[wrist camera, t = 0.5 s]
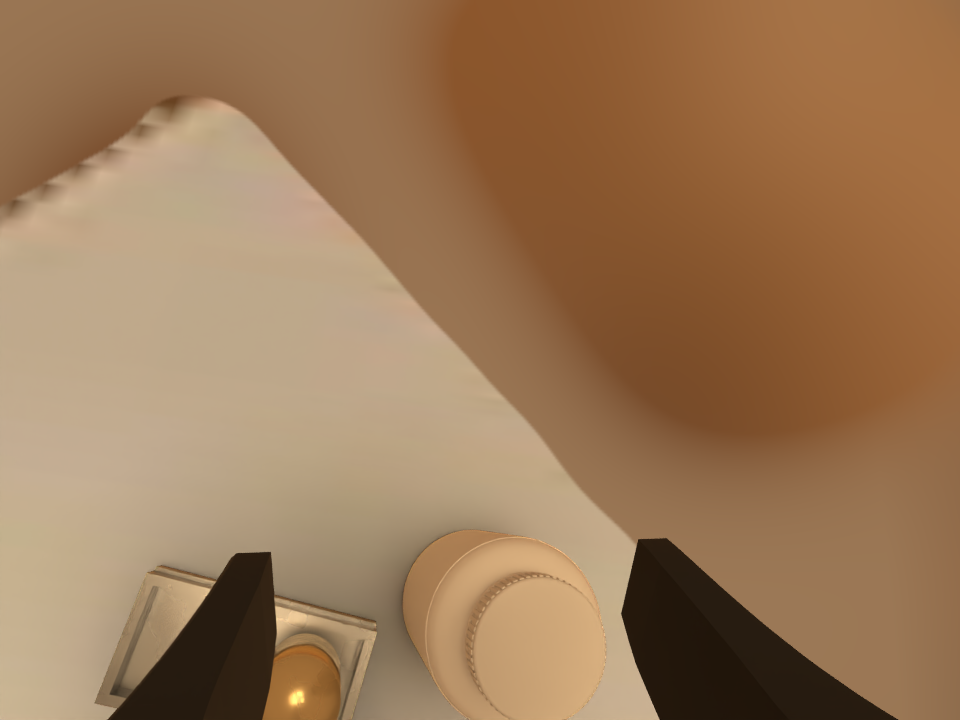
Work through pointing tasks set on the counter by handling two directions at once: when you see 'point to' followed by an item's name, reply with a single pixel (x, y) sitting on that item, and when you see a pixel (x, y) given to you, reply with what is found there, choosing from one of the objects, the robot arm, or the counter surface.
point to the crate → (177, 598)
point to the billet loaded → (304, 680)
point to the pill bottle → (505, 626)
